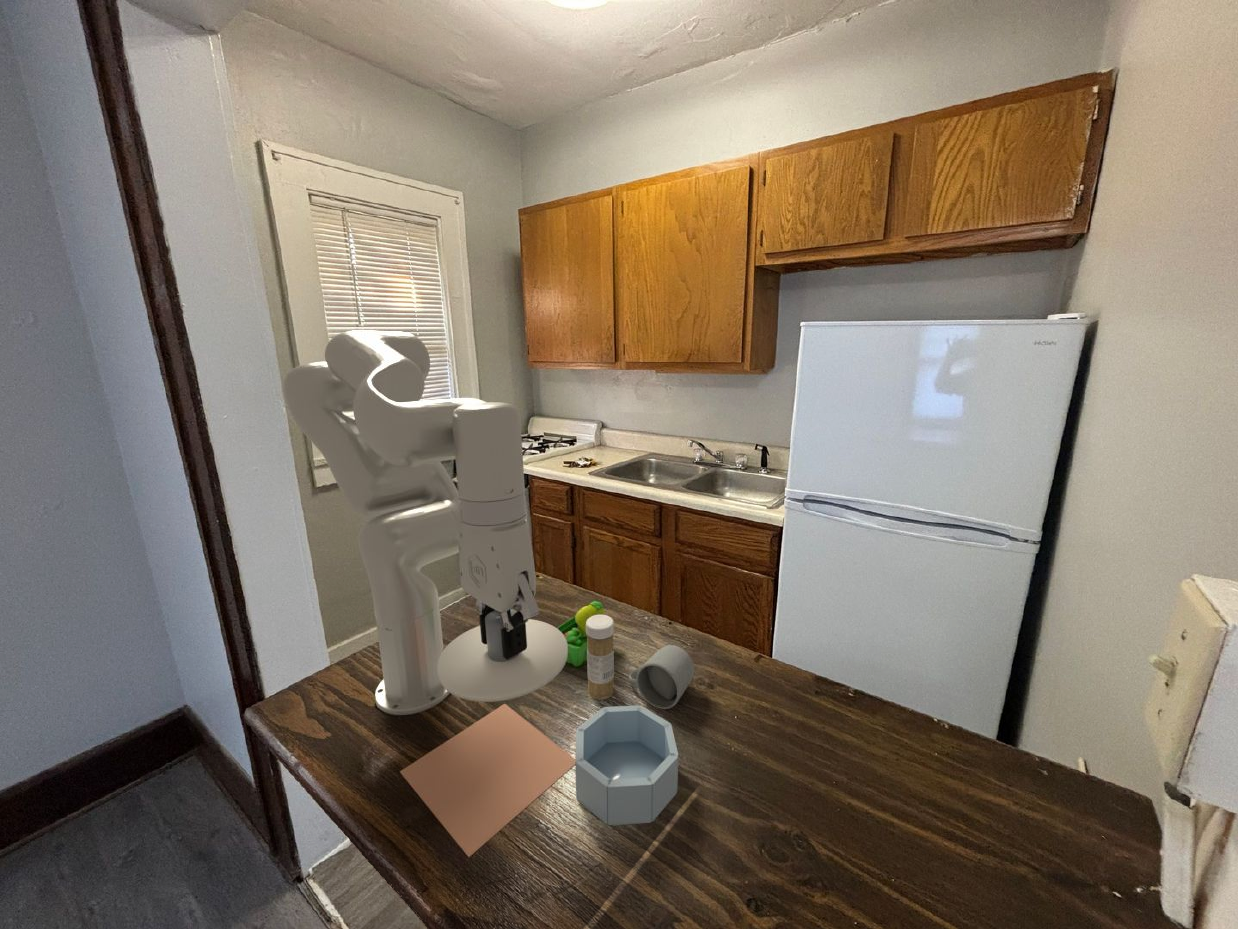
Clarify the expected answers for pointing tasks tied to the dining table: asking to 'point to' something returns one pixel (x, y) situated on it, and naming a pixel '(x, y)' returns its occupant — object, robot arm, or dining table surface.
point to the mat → (487, 776)
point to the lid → (501, 662)
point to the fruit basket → (579, 632)
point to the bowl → (626, 764)
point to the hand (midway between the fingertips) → (504, 645)
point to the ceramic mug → (664, 676)
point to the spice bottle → (600, 656)
